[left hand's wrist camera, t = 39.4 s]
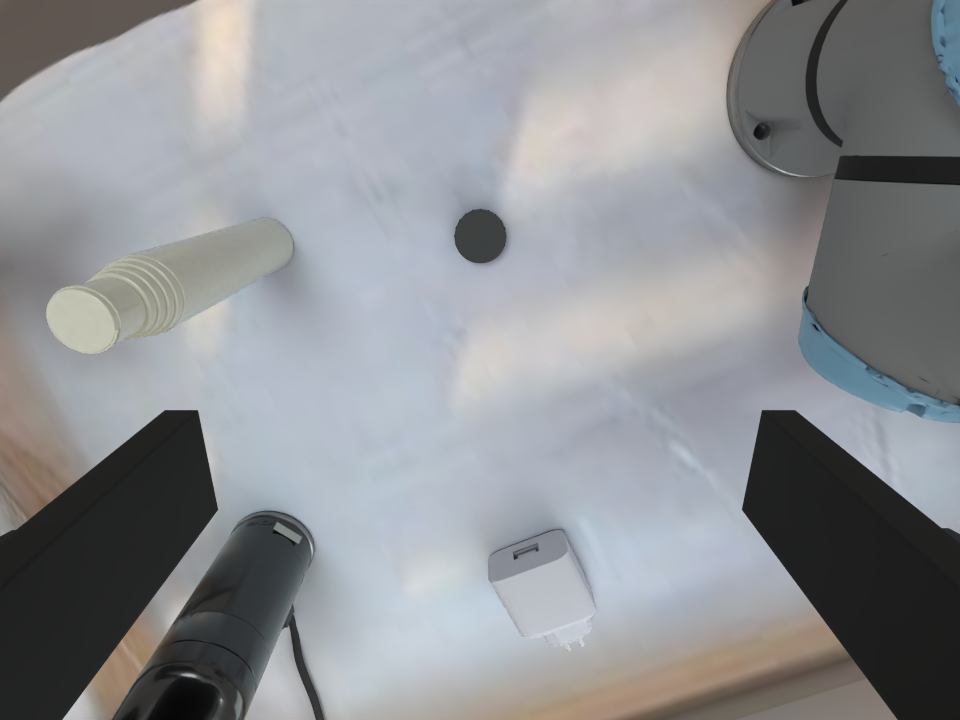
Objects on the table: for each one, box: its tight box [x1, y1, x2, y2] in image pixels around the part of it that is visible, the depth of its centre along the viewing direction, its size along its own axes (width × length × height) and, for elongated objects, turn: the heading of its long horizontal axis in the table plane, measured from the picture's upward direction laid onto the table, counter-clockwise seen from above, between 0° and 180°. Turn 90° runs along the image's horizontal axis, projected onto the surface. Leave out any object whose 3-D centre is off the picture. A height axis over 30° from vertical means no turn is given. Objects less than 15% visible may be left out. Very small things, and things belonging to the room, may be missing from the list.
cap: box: [454, 209, 506, 263], centre depth 49 cm, size 5×5×2 cm
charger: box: [488, 530, 596, 651], centre depth 62 cm, size 5×9×15 cm
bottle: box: [46, 218, 294, 354], centre depth 38 cm, size 5×5×25 cm
